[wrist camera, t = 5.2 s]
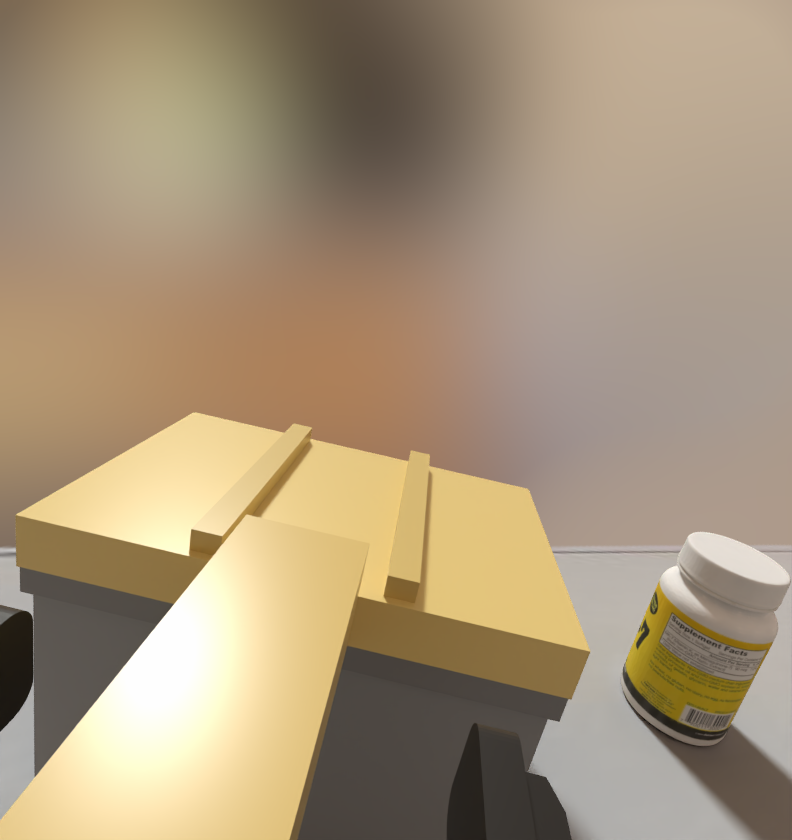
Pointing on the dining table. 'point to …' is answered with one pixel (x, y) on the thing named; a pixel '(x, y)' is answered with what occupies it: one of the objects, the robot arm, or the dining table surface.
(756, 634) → the supplement bottle
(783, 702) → the dining table surface
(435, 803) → the grey box
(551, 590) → the lid
